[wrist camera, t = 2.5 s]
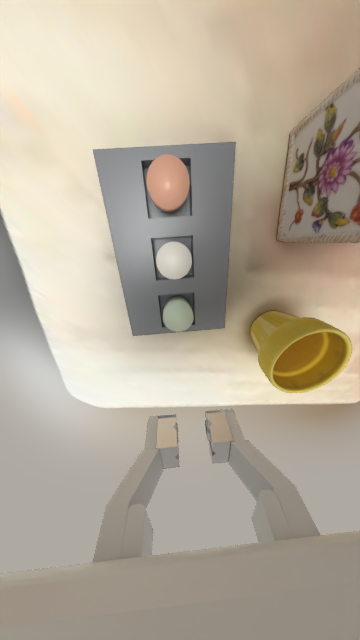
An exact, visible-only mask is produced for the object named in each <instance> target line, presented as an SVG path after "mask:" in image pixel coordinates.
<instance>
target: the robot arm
mask: <svg viewBox="0 0 360 640" xmlns="http://www.w3.org/2000/svg"><path fill="white" fill-rule="evenodd" d="M205 417H206V420H205V427H206V434H207V439H208V441H209V450H210V455H211V460H212V463H223V462H229V464H230V466H231V467H232V469H233V470H234V471H235V472H236V474H237V475H238V477H239V478H240V479H241V481H242V482H243V483H244V484H245V486H246V487H247V489H248V490H249V491H250V493H251V494H252V495H253V497H254V498H255V499H256V501H257V503H256V506H255V509H254V512H253V515H252V522H253V525H254V528H255V532H256V535H257V539H258V542H259V543H253V544H244V545H235V546H228V547H219V548H210V549H202V550H194V551H186V552H177V553H168V554H160V555H152V541H153V528H152V525H151V523H150V520H149V517H148V514H147V512H146V508H147V506H148V503H149V501H150V499H151V497H152V494H153V492H154V490H155V488H156V485H157V483H158V481H159V479H160V476H161V474H162V472H163V469H167V468H174V467H180V466H179V448H178V427H177V418H176V414H174V415H162V416H150V417H149V419H148V426H147V434H146V442H145V450H143V451H141V453H140V454H139V456H138V457H137V459H136V461H135V462H134V464H133V465H132V467H131V468H130V470H129V471H128V473H127V475H126V476H125V477H124V479H123V481H122V482H121V484H120V485H119V487H118V488H117V490H116V491H115V493H114V495H113V496H112V498H111V499H110V501H109V502H108V504H107V505H106V509H105V512H104V517H103V521H102V525H101V529H100V533H99V537H98V542H97V546H96V550H95V554H94V558H93V562H92V563H84V564H76V565H68V566H59V567H51V568H42V569H34V570H26V571H18V572H9V573H1V574H0V640H360V531H353V532H345V533H336V534H328V535H320V533H319V532H318V529H317V527H316V525H315V523H314V521H313V520H312V518H311V516H310V514H309V512H308V510H307V508H306V506H305V504H304V502H303V500H302V498H301V496H300V494H299V492H298V490H297V488H296V487H295V485H294V484H292V482H291V481H290V480H289V479H288V478H286V477H285V476H284V475H283V474H282V473H281V472H280V471H279V470H278V469H277V468H276V467H275V466H274V465H273V464H272V463H271V462H270V461H269V460H268V459H267V458H266V457H265V456H264V455H263V454H262V453H261V452H260V451H259V450H258V449H256V447H255V446H253V445H252V444H251V443H250V442H249V441H248V440H245V439H244V436H243V434H242V431H241V428H240V426H239V424H238V421H237V418H236V416H235V413H234V411H233V409H221V410H212V411H206V412H205Z"/></svg>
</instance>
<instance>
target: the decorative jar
mask: <svg viewBox="0 0 360 640" xmlns="http://www.w3.org/2000/svg"><path fill="white" fill-rule="evenodd" d="M277 240H279V241H283V242H303V243H304V242H310V243H312V242H314V243H316V242H317V243H321V242H323V243H325V242H333V243H347V242H350V243H358V242H360V68H359V69H358V70H357V71H356V72H355V73H354V74H352V75H351V76H350V77H349V78H348V79H347V80H346V81H345V82H344V83H342V84H341V85H340V86H339V87H338V88H337V89H336V90H335V91H334V92H332V93H331V94H330V95H329V96H328V97H327V98H326V99H325V100H324V101H323V102H322V103H321V104H320V105H318V106H317V107H316V108H315V109H314V110H313V111H312V112H311V113H310V114H309V115H308V116H307V117H305V118H304V119H303V120H302V121H301V122H300V123H299V124H298V125H297V126H296V127H295V128H294V129H293V130H292V131H291V133H290V142H289V152H288V158H287V164H286V172H285V179H284V188H283V195H282V201H281V208H280V216H279V226H278V234H277Z"/></svg>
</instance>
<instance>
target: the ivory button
mask: <svg viewBox="0 0 360 640" xmlns="http://www.w3.org/2000/svg"><path fill="white" fill-rule="evenodd" d="M156 264H157V268H158V270H159V272H160V273H161V274H162V275H163V276H164V277H166V278H168V279H180V278H182V277H184V276H185V275H186V274H187V273H188V272H189V270H190V268H191V265H192V257H191V253H190V251H189V250H188V248H187V247H186V246H185V245H183V244H182V243H179V242H174V241H172V242H168V243H166V244H164V245H163V246H162V247H161V248H160V249H159V251H158V253H157V257H156Z"/></svg>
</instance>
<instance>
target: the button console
mask: <svg viewBox="0 0 360 640" xmlns="http://www.w3.org/2000/svg"><path fill="white" fill-rule="evenodd" d="M235 144H236V142H224V143H206V144H187V145H169V146H151V147H132V148H114V149H96V150H93V153H94V158H95V163H96V167H97V172H98V177H99V181H100V186H101V190H102V195H103V200H104V204H105V209H106V214H107V218H108V223H109V228H110V232H111V237H112V241H113V246H114V251H115V255H116V260H117V265H118V269H119V274H120V279H121V283H122V288H123V292H124V297H125V302H126V306H127V311H128V316H129V320H130V325H131V330H132V334H133V336H138V335H150V334H162V333H173V332H176V331H172V330H170V329H168V328H167V327H166V326H165V324H164V322H163V309H164V305H165V303H166V301H167V300H168V299H170V298H172V297H175V296H180V297H183V298H185V299H186V300H188V302H189V303H190V306H191V309H192V312H193V315H194V319H193V323H192V324H191V326H190V327H189V328H188V329H186V330H184V331H180V332H185V331H197V330H209V329H220V328H225V312H226V295H227V278H228V262H229V245H230V228H231V211H232V195H233V178H234V161H235ZM165 154H170V155H173V156H176V157H177V158H179V159H180V160H181V161H182V162H183V163H184V165H185V166H186V168H187V171H188V174H189V180H190V185H189V191H188V194H187V196H186V199H185V201H184V203H183V205H182V206H181V207H180V208H179V209H178V210H177V211H175V212H171V213H167V212H163V211H161V210H160V209H158V208H157V207H156V206H155V204H154V203H153V201H152V198H151V196H150V194H149V191H148V188H147V173H148V169H149V167H150V165H151V163H152V162H153V161H154V160H155V159H156V158H157V157H159V156H161V155H165ZM172 241H174V242H179V243H182V244H183V245H185V246H186V247H187V248H188V250H189V251H190V253H191V257H192V265H191V268H190V270H189V272H188V273H187V274H186V275H185V276H184V277H182V278H180V279H168V278H166V277H164V276H163V275H162V274H161V273H160V272H159V270H158V268H157V264H156V257H157V253H158V251H159V249H160V248H161V247H162V246H163V245H164V244H166V243H168V242H172Z"/></svg>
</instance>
